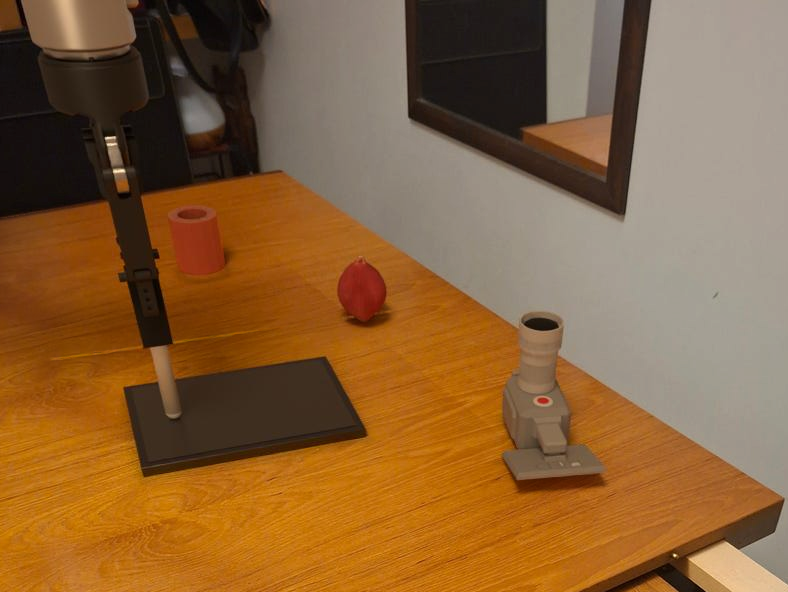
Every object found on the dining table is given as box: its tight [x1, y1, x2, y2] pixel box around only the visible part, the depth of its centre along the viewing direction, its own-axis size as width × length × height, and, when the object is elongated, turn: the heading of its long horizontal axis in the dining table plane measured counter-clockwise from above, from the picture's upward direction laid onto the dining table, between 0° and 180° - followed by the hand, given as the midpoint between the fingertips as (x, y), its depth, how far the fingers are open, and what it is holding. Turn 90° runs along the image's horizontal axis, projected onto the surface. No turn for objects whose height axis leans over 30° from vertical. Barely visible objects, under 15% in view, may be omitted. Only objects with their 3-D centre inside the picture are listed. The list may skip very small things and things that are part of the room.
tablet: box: [122, 355, 367, 478], centre depth 93 cm, size 16×22×1 cm
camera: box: [501, 310, 608, 481], centre depth 87 cm, size 9×12×15 cm
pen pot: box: [167, 204, 226, 276], centre depth 116 cm, size 6×6×7 cm
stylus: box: [149, 345, 182, 419], centre depth 85 cm, size 2×2×16 cm
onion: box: [336, 255, 388, 323], centre depth 107 cm, size 6×6×8 cm
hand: (156, 338), depth 85 cm, fingers closed on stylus, 2 cm apart
